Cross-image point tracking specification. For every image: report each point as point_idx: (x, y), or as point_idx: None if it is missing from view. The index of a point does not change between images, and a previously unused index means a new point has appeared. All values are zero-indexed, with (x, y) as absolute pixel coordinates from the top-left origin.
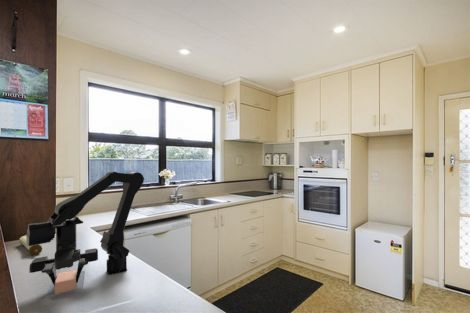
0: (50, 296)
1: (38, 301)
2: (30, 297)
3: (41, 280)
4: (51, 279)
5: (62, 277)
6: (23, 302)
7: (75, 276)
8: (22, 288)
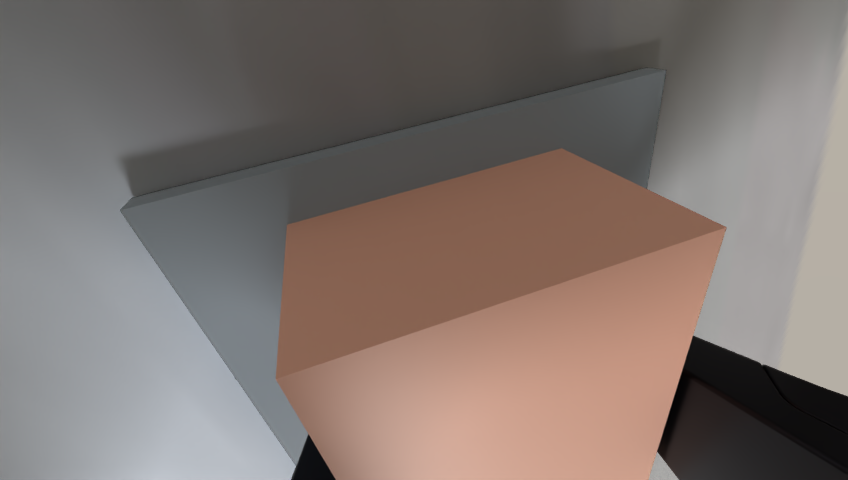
0: (609, 84)
1: (714, 38)
2: (757, 186)
3: None
4: (760, 364)
5: (587, 431)
6: (827, 84)
7: (336, 472)
8: (766, 350)
